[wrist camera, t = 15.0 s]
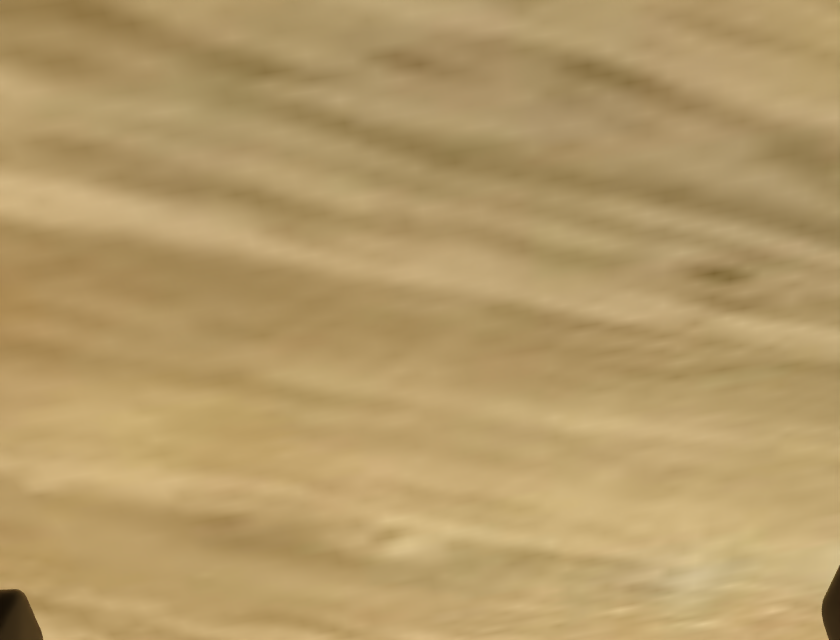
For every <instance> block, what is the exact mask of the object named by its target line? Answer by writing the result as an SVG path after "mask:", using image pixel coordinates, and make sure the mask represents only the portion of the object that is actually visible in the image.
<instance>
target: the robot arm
mask: <svg viewBox="0 0 840 640" xmlns="http://www.w3.org/2000/svg"><path fill="white" fill-rule="evenodd" d="M822 617H823V622H824V626H825V629H826V632H827V635H828V638H829V640H840V566H839V568H838V570H837V572H836V574H835V576H834V578H833V580H832V582H831V584H830V587H829V589H828V591H827V593H826V595H825V597H824V600H823V604H822ZM0 640H43V636H42V632H41V630H40V627H39V625H38V623H37V620H36V618H35V616H34V614H33V611H32V609H31V607H30V604H29V602H28V600H27V597H26V596H25V594H24V593H23V592H21V591H20V590H17V589H10V590H0Z"/></svg>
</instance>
